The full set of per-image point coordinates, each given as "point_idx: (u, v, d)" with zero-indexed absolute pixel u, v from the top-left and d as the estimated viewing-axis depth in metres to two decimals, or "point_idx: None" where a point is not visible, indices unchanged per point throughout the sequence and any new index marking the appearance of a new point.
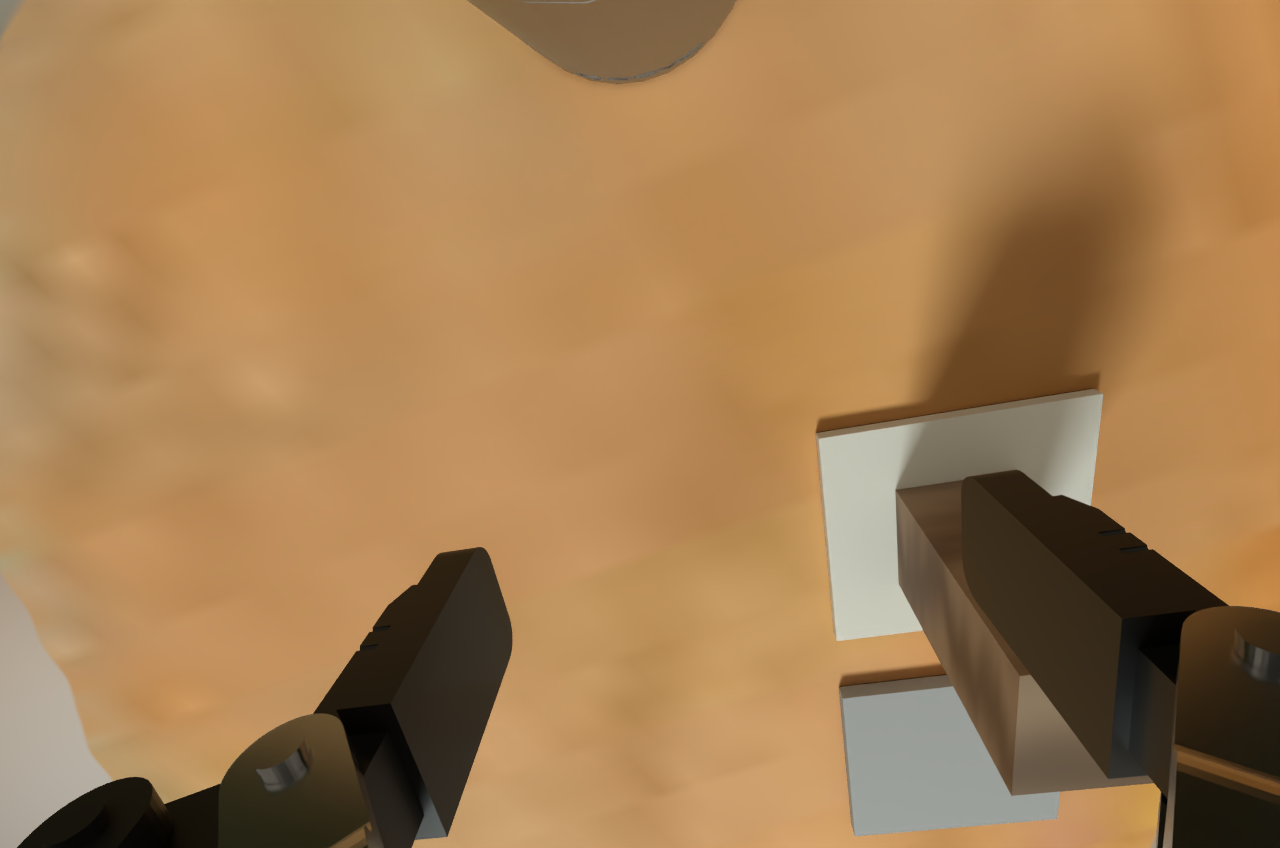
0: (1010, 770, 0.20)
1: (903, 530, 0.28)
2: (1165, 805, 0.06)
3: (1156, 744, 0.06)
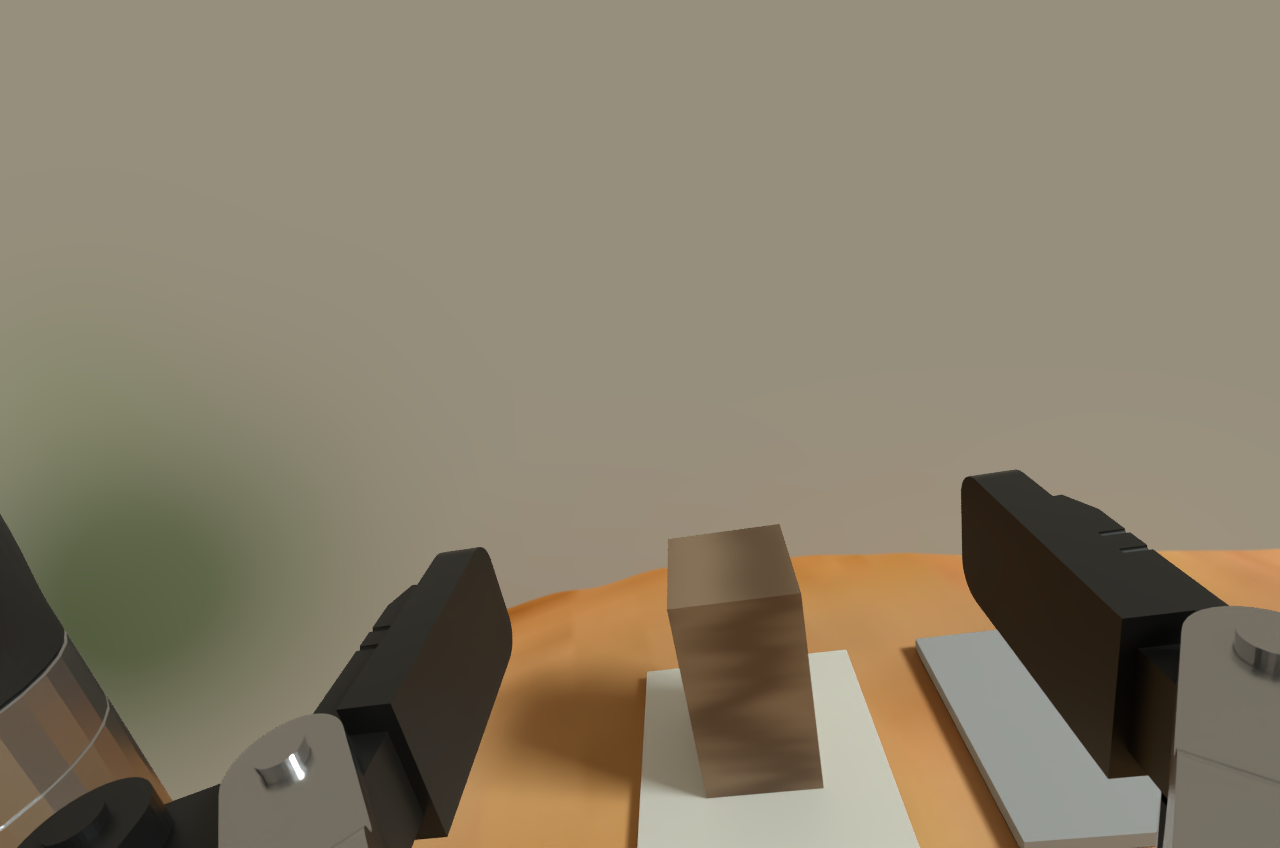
0: (775, 599, 0.25)
1: (737, 780, 0.29)
2: (1165, 805, 0.06)
3: (1154, 743, 0.06)
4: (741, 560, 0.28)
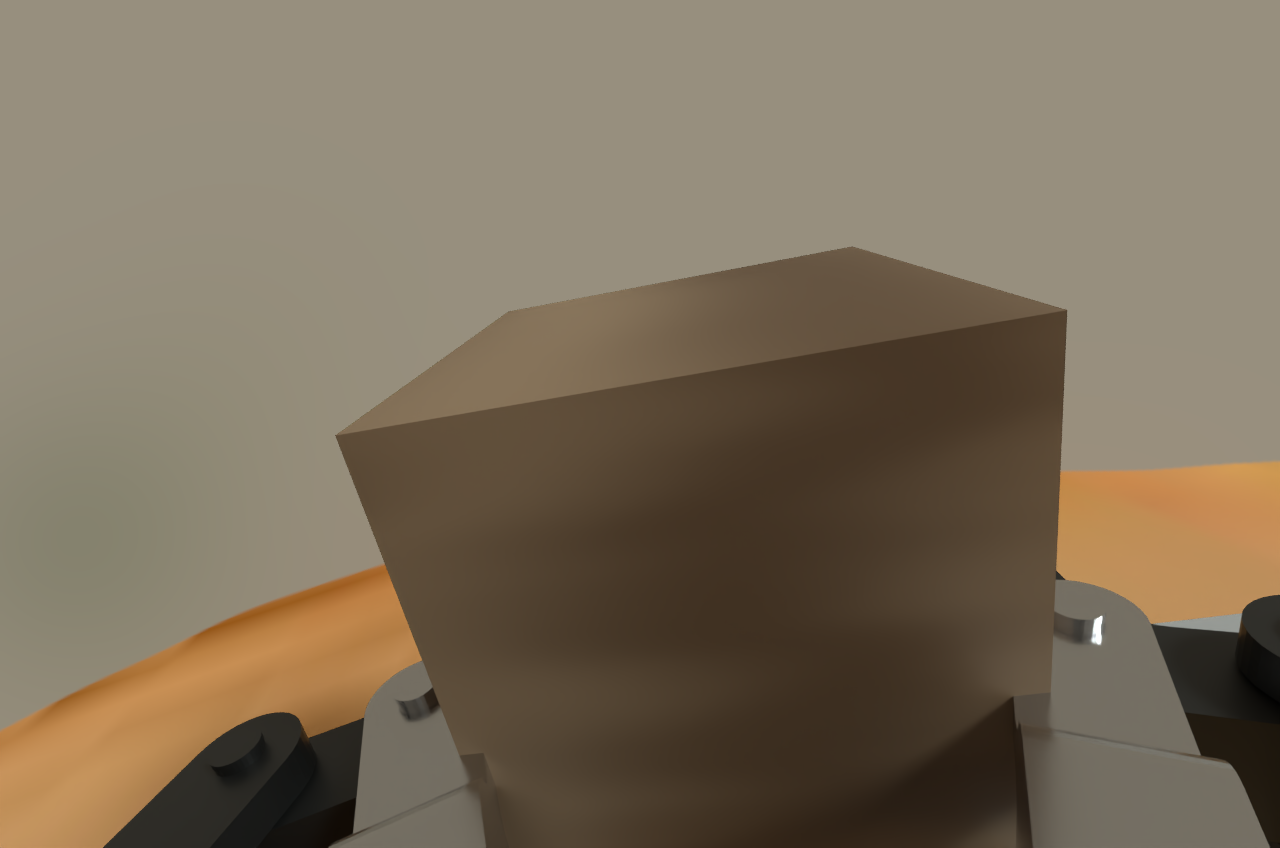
0: (915, 357, 0.04)
1: None
2: None
3: None
4: (728, 299, 0.07)
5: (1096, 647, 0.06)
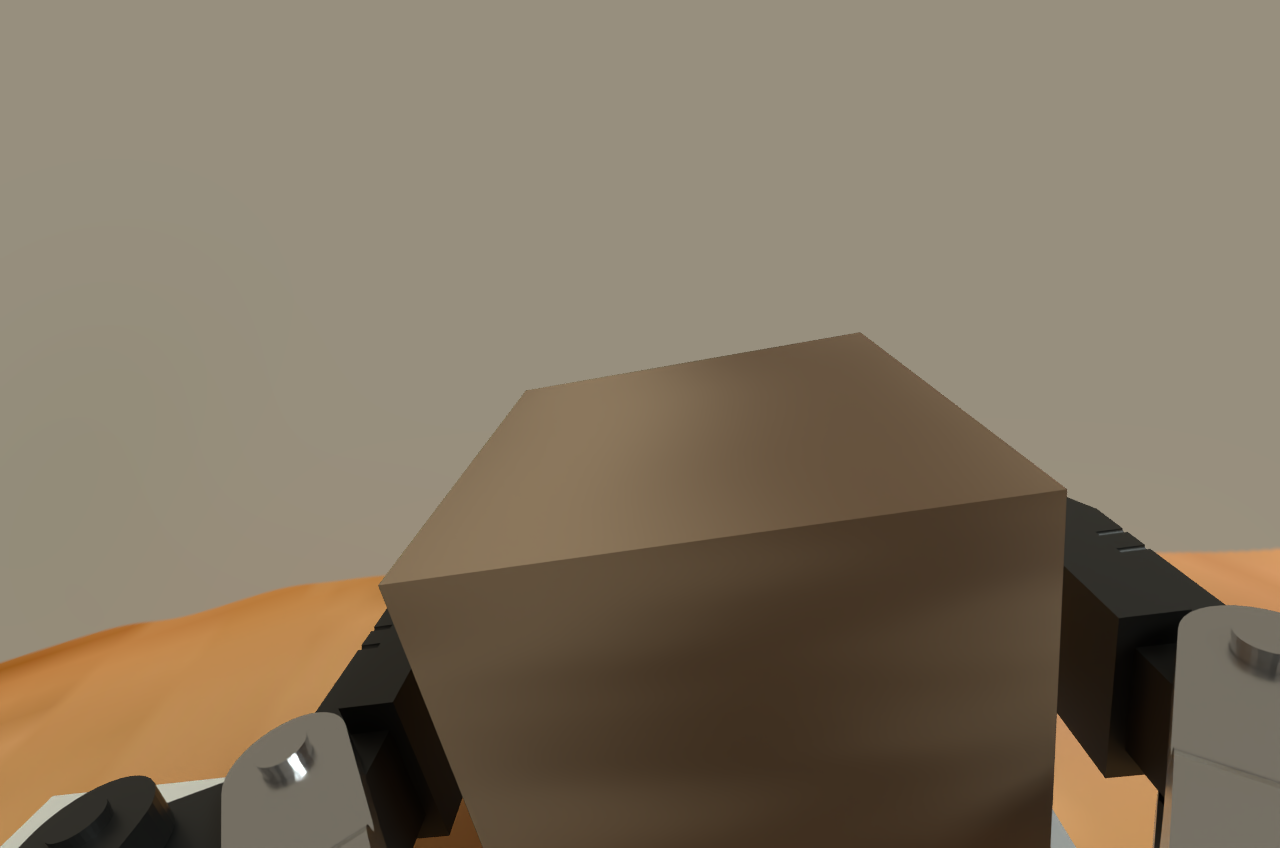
0: (922, 527, 0.05)
1: None
2: (1162, 804, 0.06)
3: (1151, 742, 0.06)
4: (743, 408, 0.08)
5: None
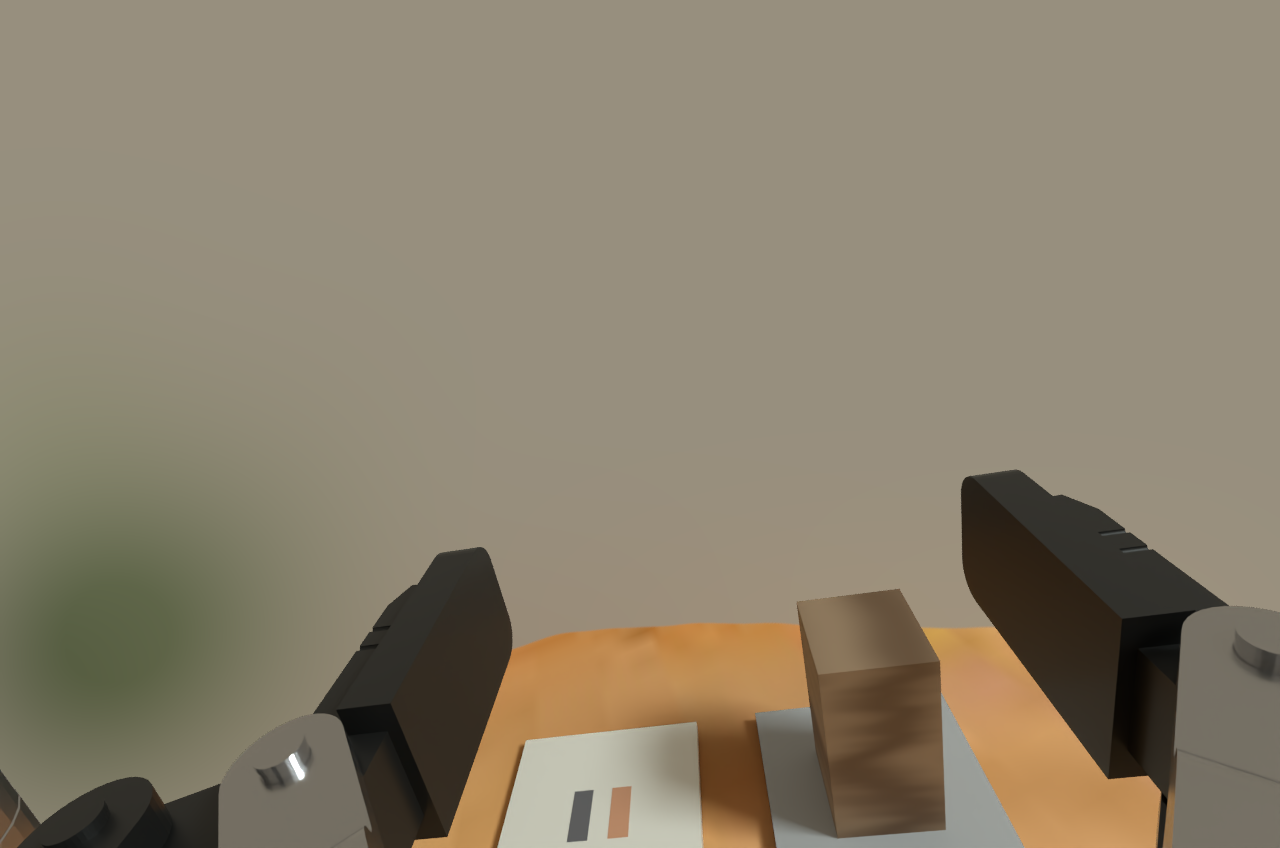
0: (916, 666, 0.28)
1: (867, 823, 0.32)
2: (1165, 805, 0.06)
3: (1156, 743, 0.06)
4: (873, 625, 0.31)
5: None
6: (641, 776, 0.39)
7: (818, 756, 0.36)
